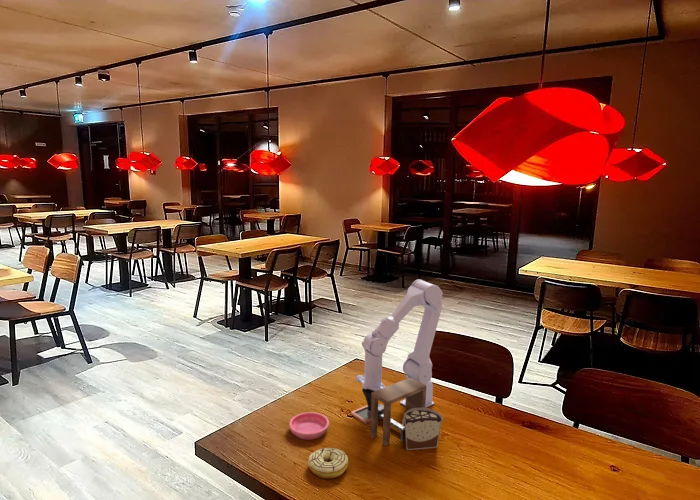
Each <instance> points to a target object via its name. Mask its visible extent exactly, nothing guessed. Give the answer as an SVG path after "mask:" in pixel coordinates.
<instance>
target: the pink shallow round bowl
mask: <svg viewBox="0 0 700 500" xmlns="http://www.w3.org/2000/svg"><path fill="white" fill-rule="evenodd" d="M288 427H289V430H290V431H291V433H292V434H293V435H295V436H296V437H297V438H299V439H301V440H307V441H311V440H316V439H319V438H320V437H322V436H323V435H324V434H325V433H326V432H327V431H328V430H329V427H330V421H329V419H328V417H327V416H326V415H324V414H322V413H319V412H314V411H309V412H302V413H299V414H296V415H294V416H293V417H292V418H291V419H290V421H289V423H288Z"/></svg>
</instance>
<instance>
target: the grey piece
mask: <svg viewBox="0 0 700 500" xmlns="http://www.w3.org/2000/svg"><path fill="white" fill-rule="evenodd" d="M367 416H369V417H371V408H369V409H367ZM378 417H379V418H378V419H380V420H382V421H383V418H384V404H383V403H378ZM390 426H392V427H393V428H395V429H397V430H398V431H400V441H401V442H404V441H406V440H405V425H403V424H402V423H399V422H398V421H396V420H394V419H393V418H391V423H390Z"/></svg>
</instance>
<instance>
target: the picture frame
mask: <svg viewBox="0 0 700 500" xmlns="http://www.w3.org/2000/svg"><path fill="white" fill-rule="evenodd" d="M367 409H368V405H364V406H362V407H359V408H357V409H355V410H352V411H350V415H351V416H352V417H355V419H357V420H358V421H361V422H362V423H363V424H365V425H366V424H369V423H371V417H369V416H367ZM378 419H380V418H379V417H378Z"/></svg>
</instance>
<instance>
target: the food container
mask: <svg viewBox="0 0 700 500" xmlns="http://www.w3.org/2000/svg"><path fill="white" fill-rule="evenodd" d="M405 411H406V410H405ZM442 423H444V418H443V415H442V414H441V413H439V412H438V411H436V410H434V409H431V408H429V407H426V408H412V409H410V410H408V411H406V413H405V412H404V414H403V416H402V421H401V425H403V426H405V440H404V441H405V449H406V451H412V450H425V449H435V448H438V445H439V438H440V432H441V426H442Z"/></svg>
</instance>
